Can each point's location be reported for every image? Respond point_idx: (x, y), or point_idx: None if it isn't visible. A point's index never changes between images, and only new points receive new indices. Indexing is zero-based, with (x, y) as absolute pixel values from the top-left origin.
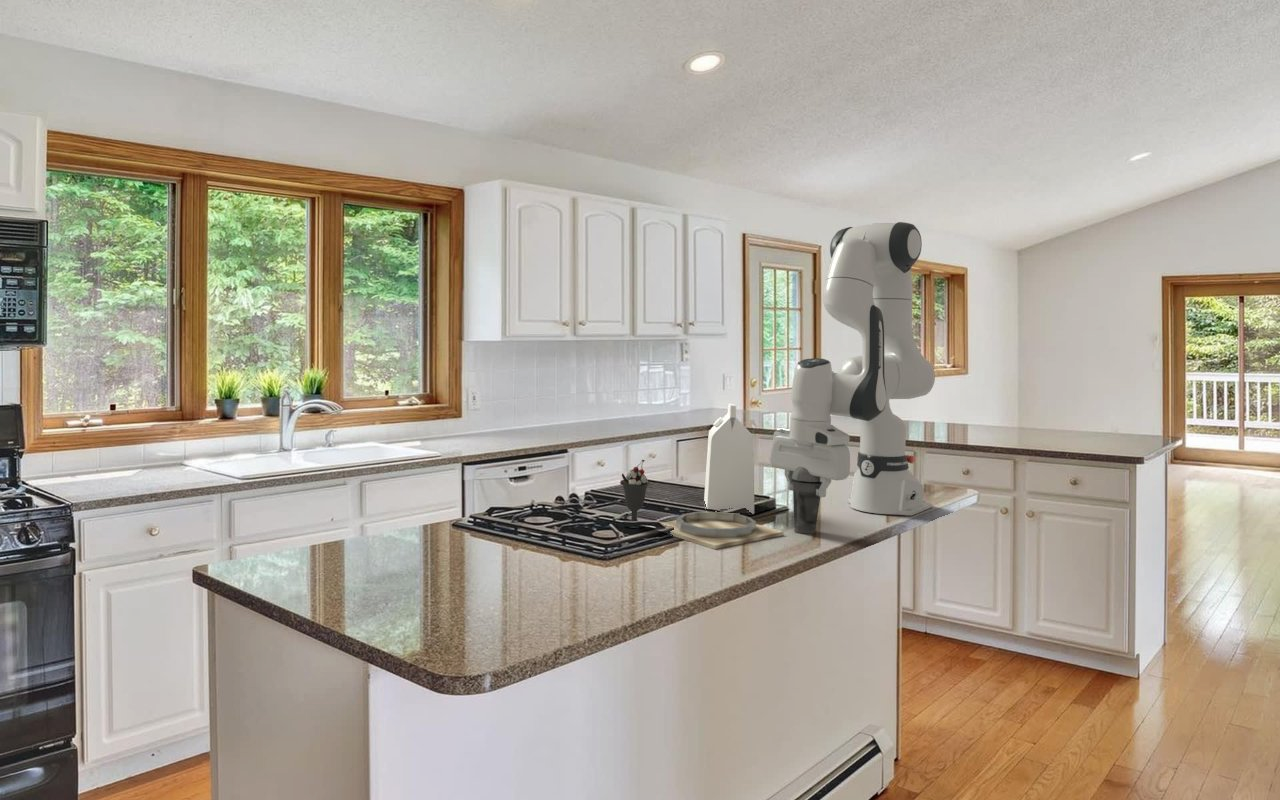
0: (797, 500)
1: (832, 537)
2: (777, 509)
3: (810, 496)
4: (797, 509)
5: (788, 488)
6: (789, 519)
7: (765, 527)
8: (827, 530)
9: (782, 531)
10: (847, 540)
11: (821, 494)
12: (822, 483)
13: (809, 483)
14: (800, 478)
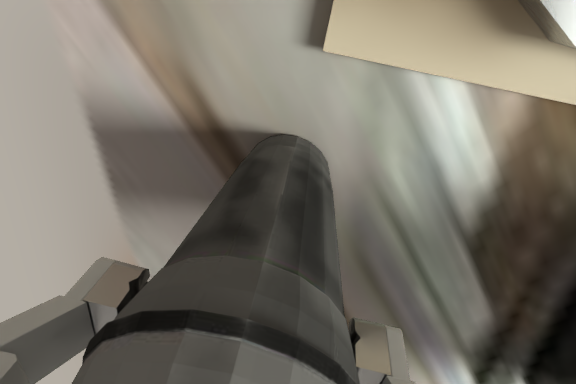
0: (274, 215)
1: (165, 165)
2: (512, 370)
3: (178, 252)
4: (282, 183)
5: (397, 330)
6: (422, 290)
7: (444, 60)
8: None
9: (328, 47)
10: (107, 162)
11: (91, 271)
12: (1, 337)
13: (113, 320)
14: (184, 359)
